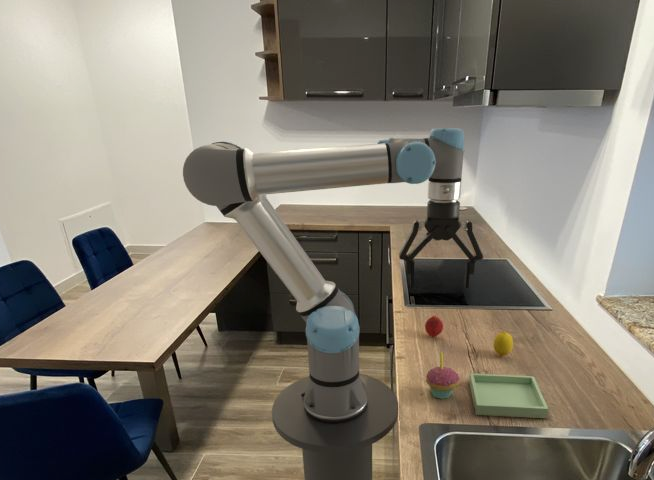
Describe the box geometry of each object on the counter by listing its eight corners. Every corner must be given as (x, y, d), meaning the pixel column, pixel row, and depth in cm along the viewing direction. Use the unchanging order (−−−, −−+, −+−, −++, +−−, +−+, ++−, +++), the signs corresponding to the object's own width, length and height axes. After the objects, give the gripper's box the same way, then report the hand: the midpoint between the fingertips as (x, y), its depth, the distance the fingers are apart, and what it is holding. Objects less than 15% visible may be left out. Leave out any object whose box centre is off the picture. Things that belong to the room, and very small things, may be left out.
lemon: (493, 359, 131) (496, 335, 128) (491, 351, 136) (494, 327, 133) (512, 360, 130) (516, 336, 127) (509, 352, 135) (512, 328, 132)
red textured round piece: (443, 340, 142) (445, 318, 139) (425, 341, 142) (427, 318, 139) (440, 332, 148) (442, 310, 144) (423, 333, 147) (424, 311, 144)
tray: (475, 414, 106) (476, 405, 105) (469, 382, 120) (470, 373, 119) (546, 418, 105) (548, 408, 104) (532, 385, 118) (533, 376, 117)
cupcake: (419, 388, 117) (421, 348, 112) (448, 382, 120) (451, 342, 115) (434, 406, 110) (437, 364, 105) (464, 399, 112) (468, 358, 107)
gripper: (390, 202, 100) (389, 291, 109) (501, 202, 99) (491, 291, 108) (390, 197, 107) (389, 280, 115) (494, 197, 106) (485, 281, 115)
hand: (438, 286), depth 112 cm, fingers open, 13 cm apart
